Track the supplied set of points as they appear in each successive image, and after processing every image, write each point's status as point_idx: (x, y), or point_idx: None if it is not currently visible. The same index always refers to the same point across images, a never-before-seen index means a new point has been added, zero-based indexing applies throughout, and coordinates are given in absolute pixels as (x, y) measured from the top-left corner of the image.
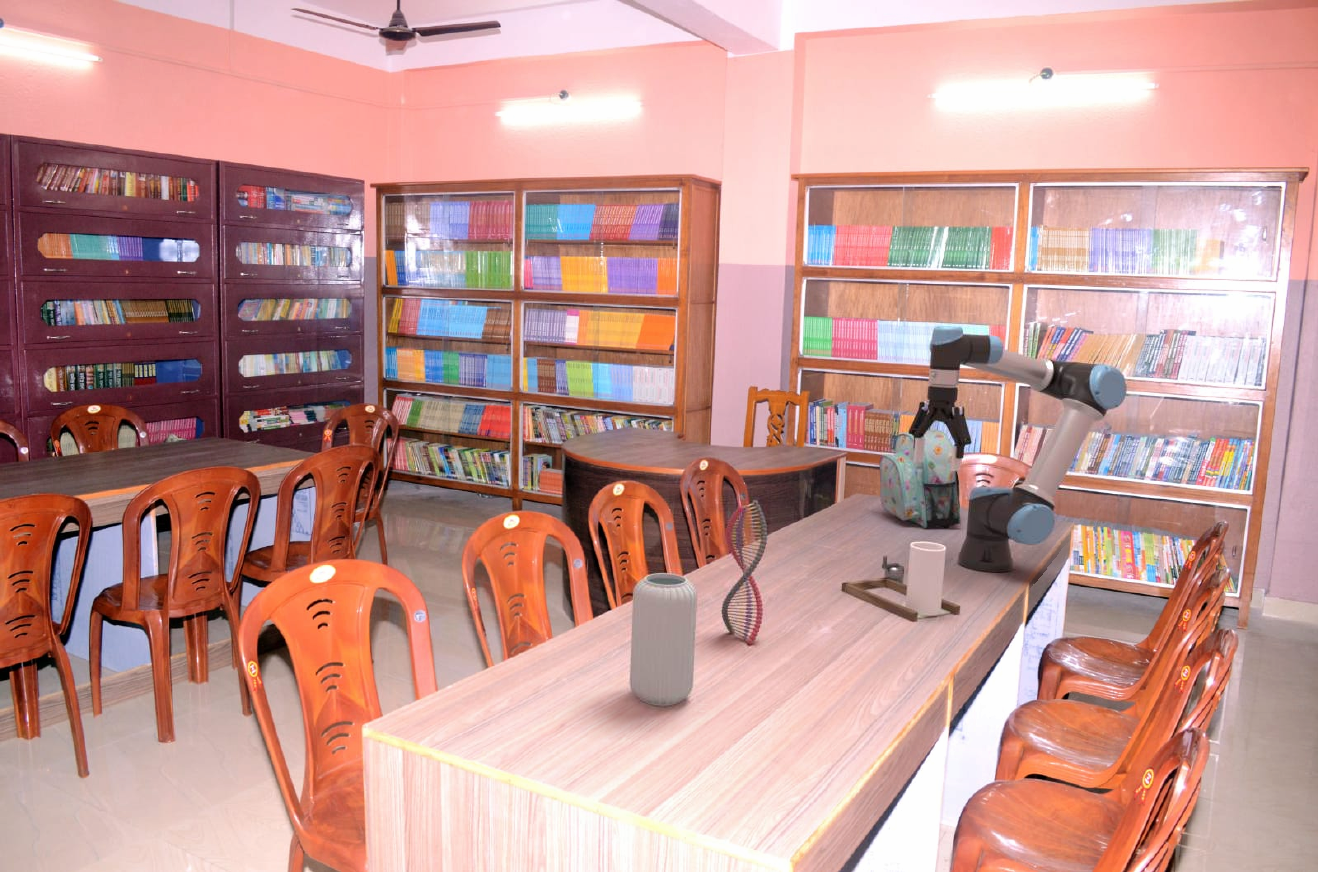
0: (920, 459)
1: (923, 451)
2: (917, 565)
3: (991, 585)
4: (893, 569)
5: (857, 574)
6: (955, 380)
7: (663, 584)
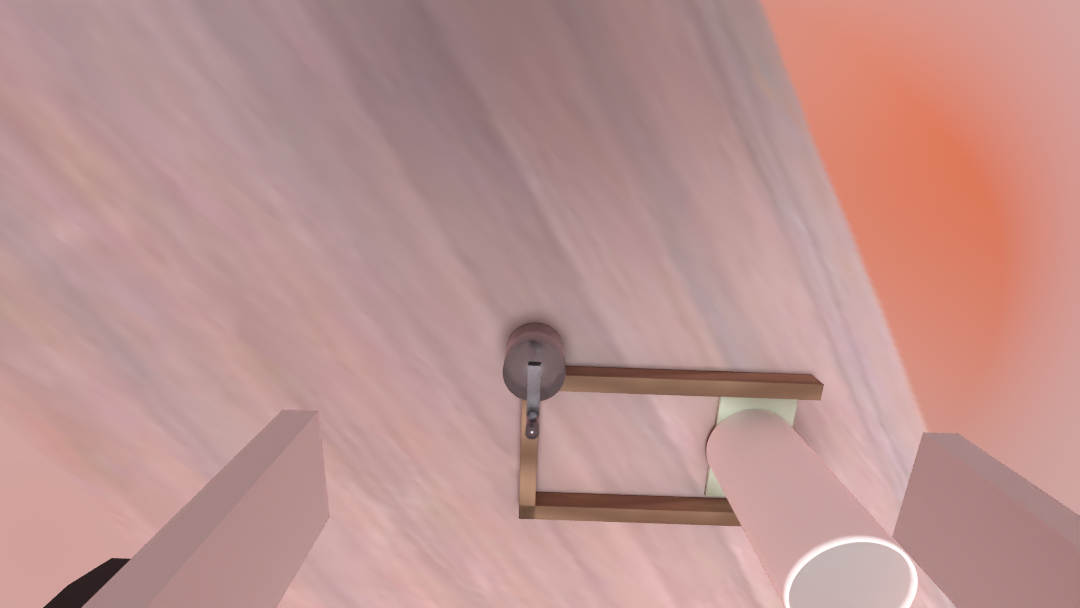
0: (308, 475)
1: (236, 510)
2: (819, 586)
3: (677, 31)
4: (553, 394)
5: (406, 369)
6: None
7: None
